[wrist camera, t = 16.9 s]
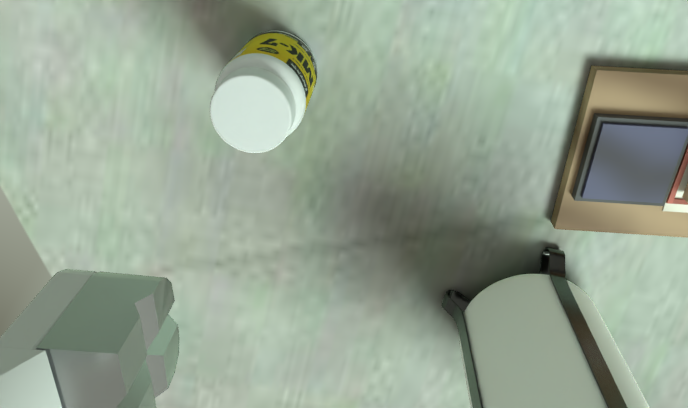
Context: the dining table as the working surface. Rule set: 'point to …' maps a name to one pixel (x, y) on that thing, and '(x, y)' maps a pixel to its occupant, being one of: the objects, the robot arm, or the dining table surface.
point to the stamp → (685, 193)
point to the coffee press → (540, 345)
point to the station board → (628, 155)
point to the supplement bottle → (263, 92)
